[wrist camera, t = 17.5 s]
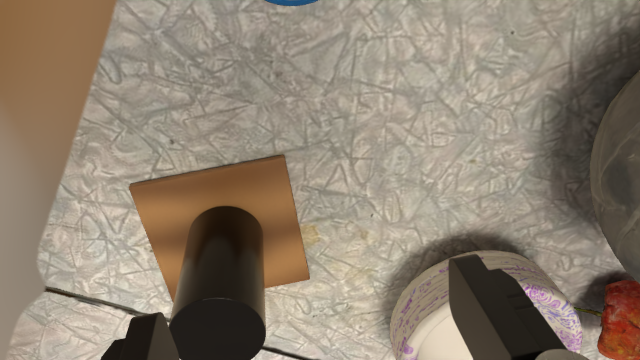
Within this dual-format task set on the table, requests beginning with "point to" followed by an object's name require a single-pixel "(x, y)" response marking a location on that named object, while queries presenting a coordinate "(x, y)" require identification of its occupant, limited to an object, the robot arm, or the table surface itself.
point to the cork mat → (224, 190)
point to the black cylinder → (221, 288)
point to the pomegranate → (620, 321)
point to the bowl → (619, 176)
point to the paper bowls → (437, 322)
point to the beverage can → (291, 2)
